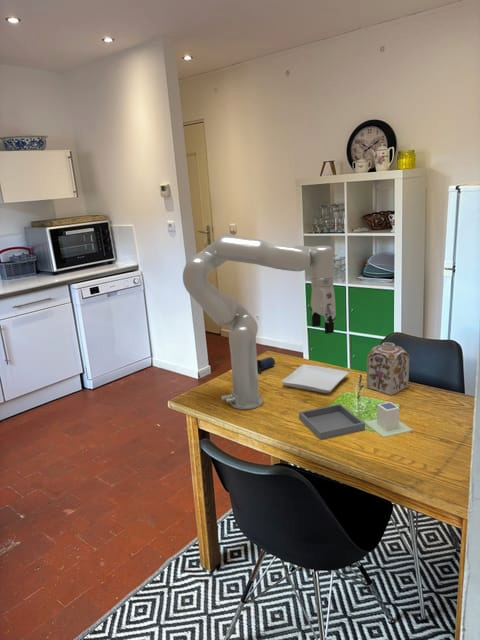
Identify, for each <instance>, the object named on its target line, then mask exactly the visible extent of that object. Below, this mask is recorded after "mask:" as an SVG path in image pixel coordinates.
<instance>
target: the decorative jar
mask: <svg viewBox="0 0 480 640" xmlns="http://www.w3.org/2000/svg"><path fill="white" fill-rule="evenodd" d="M409 374H410V354H408V352H407V351H406V350H405V349H404V348H403V347H401V346H399V345H396V344H395V343H393V342H387V341H386V342H382V344H378V345H377V346H374V347H372V349H371V350H370V351H369V353H368V354H367V357H366V388H367V389H368V390H369V389H370V390H372V391H376V392H378V393H381V394H385V395H388V396H394V395H396V394H398V393H399V392H402V391H403V390H404V389H407V388H408V387H409V377H410V375H409Z"/></svg>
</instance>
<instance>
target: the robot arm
mask: <svg viewBox="0 0 480 640" xmlns="http://www.w3.org/2000/svg"><path fill="white" fill-rule="evenodd" d="M225 262H237V263H242V264H243V263H245V264H251V265H258V266H262V267H266V268H271V269H274V270H282V271H289V272H303V271H305V270H307V269H308V268H309V267H310V275H311V276H310V278H311V279H310V280H311V281H310V282H311V284H310V285H311V296H310V297H311V300H310V301H309V304H310V311H311V326H312V327H314V328H315V327H320V326H321V325H322V324H321V316H322V317H323V318H324V320H325V322H324V334H325V335H326V334H333V333H334V332H335V329H334V327H335V322H336V321H335V320H336V315H337V311H336V295H335V289H334V248H333V247H332V246H331V245H316V246H309V245H308V246H307V245H296V246H294V247H292V248H291V247H284V246H278V245H274V244H271V243H269V242H267V241H265V240H262V239H256V238H247V237H240V236H236V235H234V234H232V233H224V234H222V235H220V236H218V237H217V238H216V239H215V240H214V241H213V242H211V243H210V244H209V245H206V247H205V248H203V249H202V250H200V251H199V252H197V253H196V254H195V255H193V256H191V257H190V258H189V260H187V262H186V263H185V266H184V268H183V272H182V282H183V287H184V288H185V289H186V290H185V291H187V293H188V294H189V295H190V296H191V297H192V299H194V301H195V302H196V303H197V304H198V305H199V306H200V307H201V309H203V311H204V312H205V313H206V314H207V315H208V316H209V317H210V318H211V319H212V321H213V322H214V323H216V325H218V326H222V327H224V326H225V327H227V326H228V328H229V329H230V331H229V335H228V344H229V345H228V346H229V351H230V360H231V361H230V363H231V364H230V365H231V375H232V376H231V377H232V390H231V391H230V393H228V394H226V395H221V396H220V399H221V402H224V401H225V402H226V403H229V405H230V406H231V407H233V408H235V409H237V410H252V409H256V408H258V407H261V406H262V405H263V403H264V398H263V396H261V395H260V394H259V392H260V391H259V374H258V370H257V360H258V355H257V334H258V328H259V327H258V323H257V321H256V319H255V318H254V317H253V316H252V314H251V313H249V311H248V310H247V309H246V308H245V307H244V306H243V304H242V303H241V302H240V301H239V300H238V299H236V298H235V297H233V296H232V295H231V294H230V295H229V294H222V293H221V292H220V291H219V289H217V288H216V287H215V285H214V284H213V283H211V282H210V281H209V279H208V276H209V275H210V274H211V273H212V272H213V271H214V270H216V269H217V268H218V267H220V266H221V265H223V264H225Z"/></svg>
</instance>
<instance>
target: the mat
mask: <svg viewBox="0 0 480 640" xmlns="http://www.w3.org/2000/svg"><path fill="white" fill-rule="evenodd" d="M363 422H364V423H365V425H367V426H368V427H369V428H371V429H372V430H373V431H374V432H375V433H377V434H378V435H379V436H380V437H382V438H388V437H392V436H396V435H400V434H404V433H414V430H413V429H412V428H411V427H409V426H408V425H406V424H405V423H403V422H402V421H400V420H399V428H396V429H391V430H387V431H385V430H384V429H383V428H381V427H380V426H379V425H377V418H376V419H372V420H371V419H370V420H367V421H363Z"/></svg>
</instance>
